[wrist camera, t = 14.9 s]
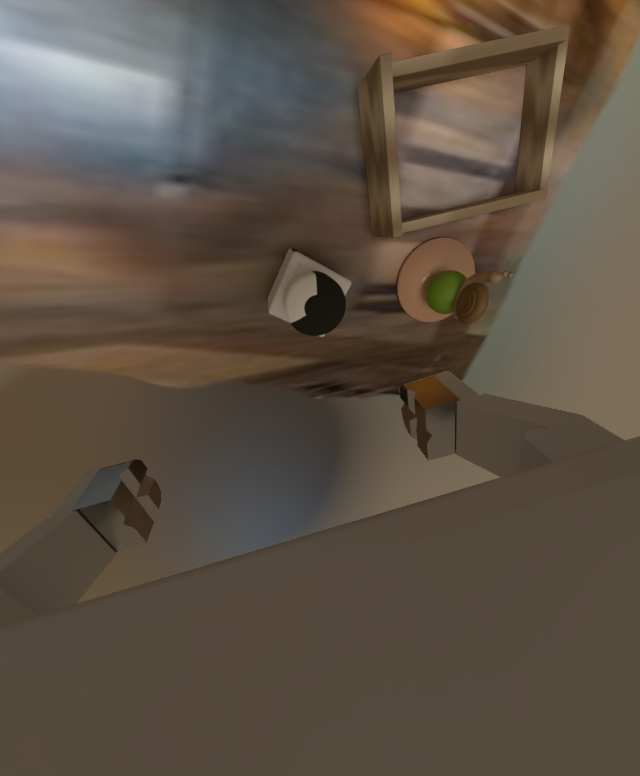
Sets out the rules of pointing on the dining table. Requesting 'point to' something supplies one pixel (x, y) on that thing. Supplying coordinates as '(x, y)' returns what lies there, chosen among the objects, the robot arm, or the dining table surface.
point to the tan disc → (429, 274)
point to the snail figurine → (461, 293)
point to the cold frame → (389, 77)
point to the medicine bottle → (308, 295)
